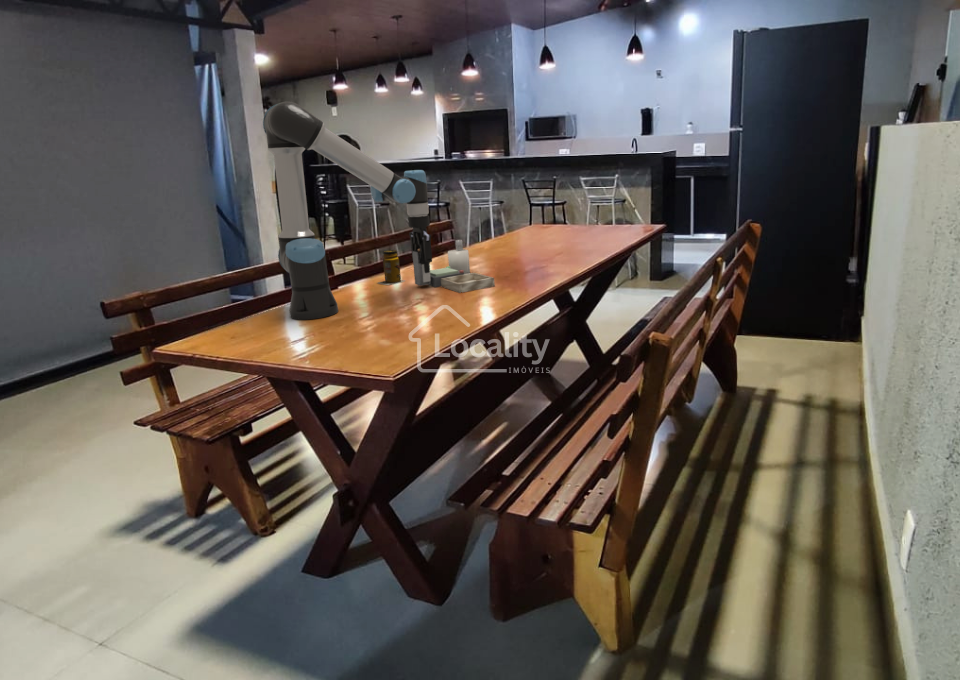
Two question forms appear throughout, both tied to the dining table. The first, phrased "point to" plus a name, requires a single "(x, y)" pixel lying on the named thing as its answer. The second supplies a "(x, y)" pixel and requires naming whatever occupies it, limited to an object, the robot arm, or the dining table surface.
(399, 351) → the dining table surface
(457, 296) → the dining table surface
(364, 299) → the dining table surface
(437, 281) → the checker base
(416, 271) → the cell
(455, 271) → the checker pad
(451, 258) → the white bottle
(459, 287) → the trough
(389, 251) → the condiment
